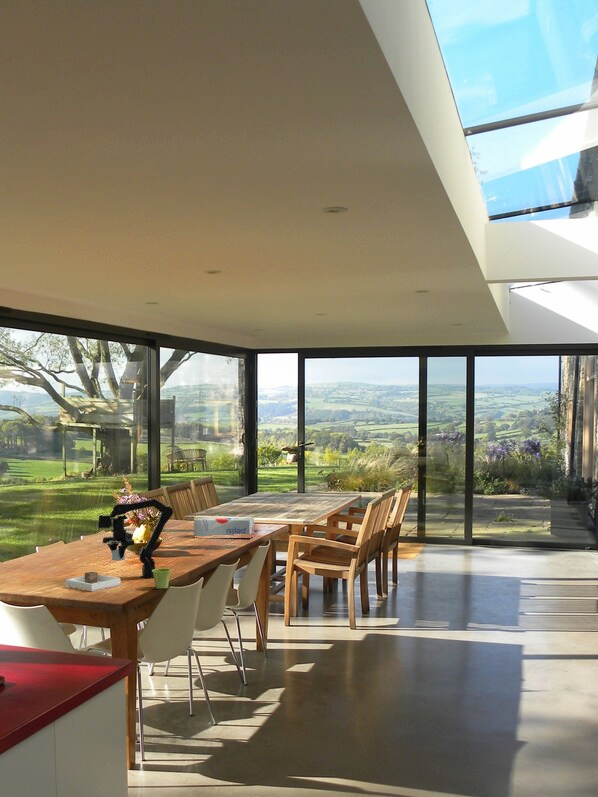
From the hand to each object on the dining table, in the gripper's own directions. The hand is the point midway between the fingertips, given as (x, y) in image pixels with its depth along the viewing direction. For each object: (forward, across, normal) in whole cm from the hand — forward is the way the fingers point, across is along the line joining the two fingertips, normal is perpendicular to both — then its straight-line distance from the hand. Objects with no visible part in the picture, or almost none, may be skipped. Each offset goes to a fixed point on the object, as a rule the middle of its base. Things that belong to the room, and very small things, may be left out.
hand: (118, 557), depth 407 cm
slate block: (+1, 0, 0) cm, 1 cm away
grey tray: (+11, -3, +19) cm, 22 cm away
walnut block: (+10, +1, +17) cm, 20 cm away
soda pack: (+11, +48, -138) cm, 146 cm away
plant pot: (+11, -34, +2) cm, 36 cm away
